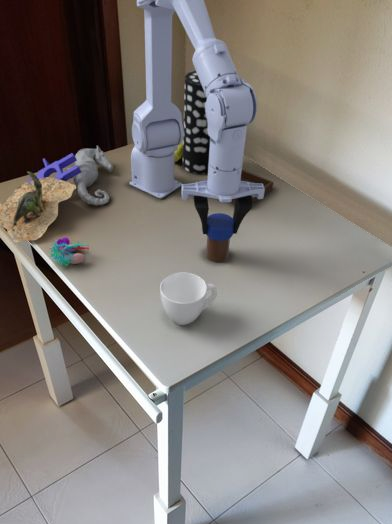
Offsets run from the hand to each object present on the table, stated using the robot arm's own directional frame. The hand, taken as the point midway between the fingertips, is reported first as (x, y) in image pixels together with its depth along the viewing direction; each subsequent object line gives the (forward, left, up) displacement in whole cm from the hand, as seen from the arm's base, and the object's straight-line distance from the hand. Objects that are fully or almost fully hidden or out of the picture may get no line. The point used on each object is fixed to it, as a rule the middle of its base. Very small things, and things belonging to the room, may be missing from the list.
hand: (219, 230), depth 94 cm
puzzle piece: (-41, -4, -3) cm, 41 cm away
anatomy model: (-18, -17, -4) cm, 25 cm away
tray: (-10, +23, -6) cm, 26 cm away
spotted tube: (-24, +26, -6) cm, 36 cm away
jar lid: (0, 0, +2) cm, 2 cm away
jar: (0, 0, -6) cm, 6 cm away
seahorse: (-29, -2, -5) cm, 29 cm away
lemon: (-31, +25, -2) cm, 40 cm away
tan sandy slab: (-38, -16, +2) cm, 42 cm away
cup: (+6, -17, -6) cm, 19 cm away
